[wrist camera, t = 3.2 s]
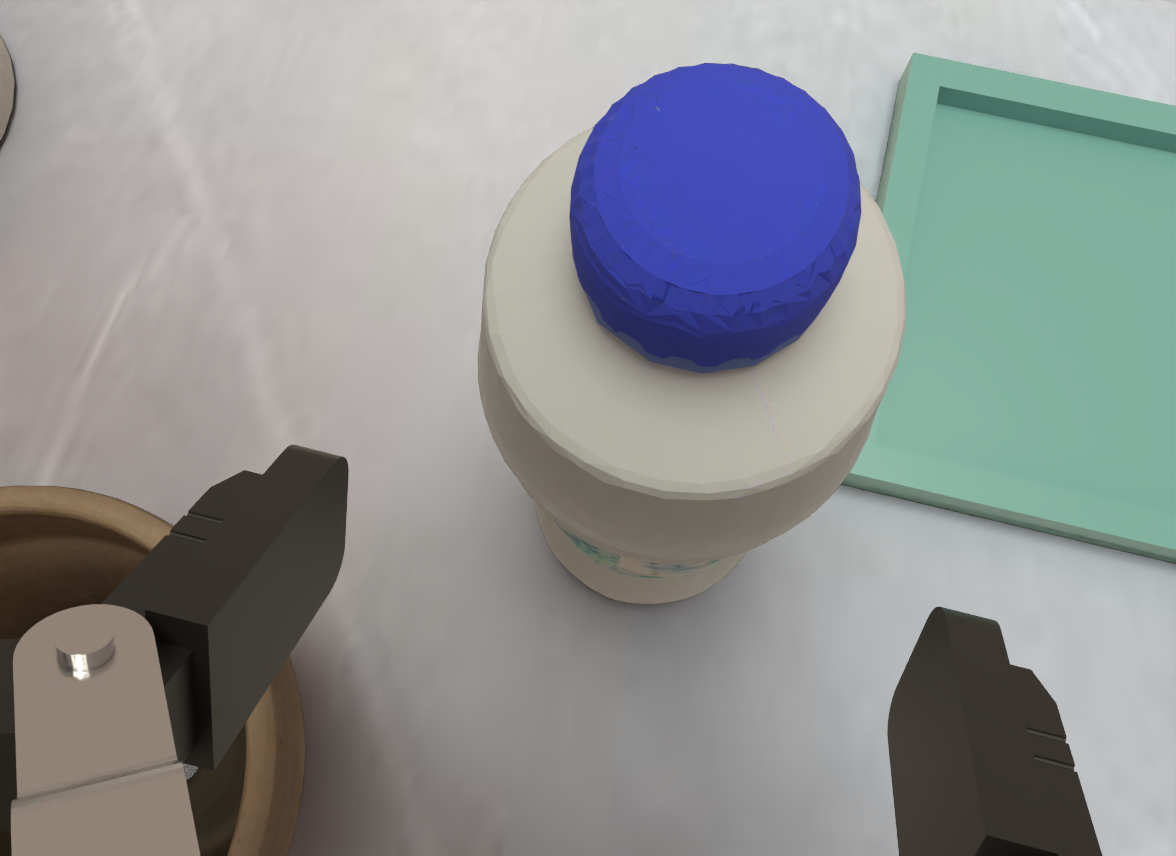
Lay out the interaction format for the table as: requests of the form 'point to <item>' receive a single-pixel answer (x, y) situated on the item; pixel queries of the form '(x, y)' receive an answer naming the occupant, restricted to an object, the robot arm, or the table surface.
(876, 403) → the bottle
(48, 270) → the table surface
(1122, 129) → the tray
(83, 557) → the flower pot
